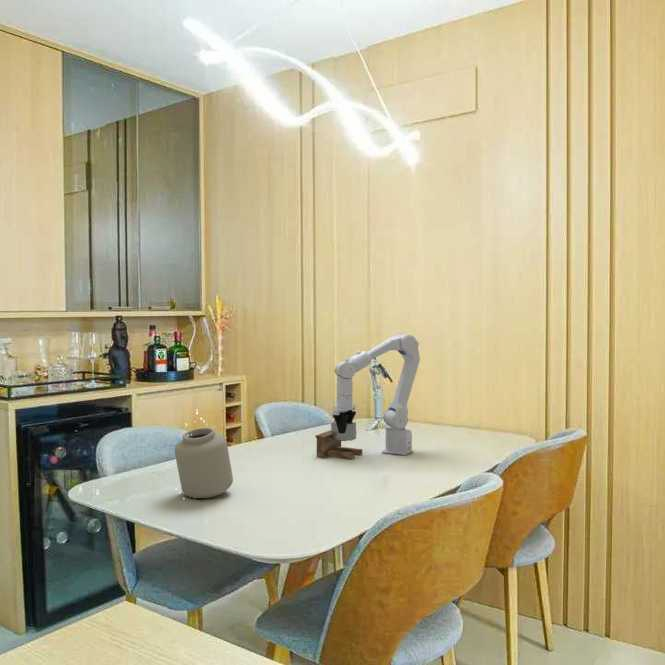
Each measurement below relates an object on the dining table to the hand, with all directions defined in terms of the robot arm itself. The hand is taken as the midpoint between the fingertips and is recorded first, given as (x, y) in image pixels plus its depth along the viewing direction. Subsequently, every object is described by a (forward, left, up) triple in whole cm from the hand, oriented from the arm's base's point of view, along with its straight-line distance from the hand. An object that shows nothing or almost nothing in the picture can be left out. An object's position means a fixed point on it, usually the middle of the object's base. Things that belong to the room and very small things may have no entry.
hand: (344, 432), depth 240 cm
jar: (+14, +65, -9) cm, 67 cm away
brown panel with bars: (+1, 0, -9) cm, 9 cm away
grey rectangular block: (0, 0, -2) cm, 3 cm away
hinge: (+16, -31, -9) cm, 36 cm away
